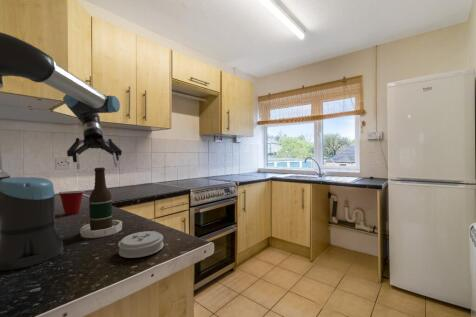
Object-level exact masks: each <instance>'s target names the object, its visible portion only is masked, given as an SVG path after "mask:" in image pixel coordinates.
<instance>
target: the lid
mask: <svg viewBox="0 0 476 317" xmlns="http://www.w3.org/2000/svg"><path fill="white" fill-rule="evenodd" d="M163 239H164V235H163V234H161V233H160V232H158V231H155V230H154V231H153V230H151V231H150V230H149V231H147V230H146V231H139V232H135V233H134V232H133V233H131V234H129V235H126V236H125V237H123V238H122V239H121V240H119V242H118V244H117V245H118V247H119V250H118V255H119V256H120V257H121V258H122V257H123V258H128V259H130V258H131V259H132V258H142V257H146V256H150V255H153V254H155V253H158V252H159V251H160V250H162V249H163V247H164V242H163Z"/></svg>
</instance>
